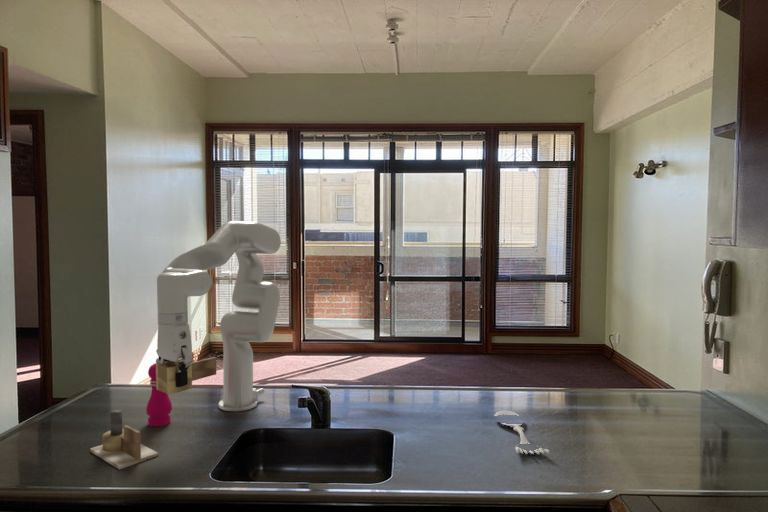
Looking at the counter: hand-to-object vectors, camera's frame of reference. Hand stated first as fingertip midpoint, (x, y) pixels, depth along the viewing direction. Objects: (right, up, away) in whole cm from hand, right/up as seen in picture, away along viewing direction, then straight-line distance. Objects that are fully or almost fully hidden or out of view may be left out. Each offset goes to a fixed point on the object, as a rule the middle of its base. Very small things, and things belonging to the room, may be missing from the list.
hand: (174, 382), depth 143 cm
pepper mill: (-11, -16, +16) cm, 26 cm away
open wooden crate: (+3, -1, +4) cm, 5 cm away
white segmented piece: (+96, -19, +11) cm, 99 cm away
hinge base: (-11, -17, -5) cm, 21 cm away
